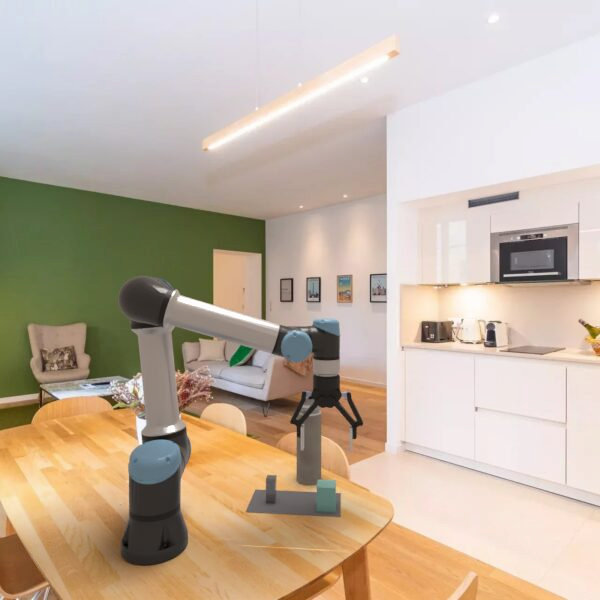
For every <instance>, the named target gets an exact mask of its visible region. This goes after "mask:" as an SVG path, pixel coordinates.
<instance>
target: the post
mask: <svg viewBox="0 0 600 600" xmlns="http://www.w3.org/2000/svg"><path fill="white" fill-rule="evenodd" d="M265 490H266V503H274V504H275V502H276V490H277V475H275V474H267V475H266V478H265Z"/></svg>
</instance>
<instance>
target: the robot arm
mask: <svg viewBox="0 0 600 600" xmlns="http://www.w3.org/2000/svg"><path fill="white" fill-rule="evenodd" d="M117 302H118V303H117V304H118V306H119V309H120V311H121V313H122V314H123V315H124V316H125V317H126V318H127V319H129V323H130V330H131V332H133V333H134V334H135V335H136V336H137V339H138V340H137V341H138V351H139V360H140V372H141V382H142V391H143V402H144V413H145V423H146V425H145V426H144V427H143V428H142V430H141V432H140V433H141V444H139V445H137V446H136V447H135V448H134V449H132V451H131V453H130V455H129V461H128V465H127V467H128V468H127V471H128V516H129V517H128V519H127V523H126V524H125V525H126V526H125V529H124V531H123V535H122V538H121V541H120V554H121V557H122V558H123V559H124V560H125V561H126V562H128V563H130V564H132V565H133V564H135V565H142V566H145V565H155V564H159V563H164V562H166V561H169V560H171V559H173V558H175V557H176V556H178V555H179V554H181V553H182V552H183V551H184V550H185V549H186V547H188V546H187V545H188V543H189V531H188V528H187V527H188V526H187V525H186V524H187V523H186V521H185V519H184V516H183V512H182V510H181V508H182V507H181V498H182V497H181V496H182V495H181V490H182V489H181V480H182V477H183V474H184V471H185V469H186V467H187V464H188V463H189V460H190V458H191V454H192V443H191V439H190V437H189V436H188V431H187V424H186V422H185V421H183V420H182V419H181V418H180V411H179V410H180V408H179V400H178V399H179V398H178V386H177V377H176V367H175V356H174V348H173V346H174V345H173V336H172V335H173V334H172V331H173V330H174V329H175V328H179V329H183V330H187V331H190V332H193V333H197V334H201V335H205V336H208V337H212V338H215V339H219V340H222V341H226V342H230V343H232V344H236V345H239V346H244V347H247V348H250V349H254V350H257V351H261V352H265V353H268V354H271V355H274V356H277V357H281V358H285V359H286V360H287V361H289V362H293V363H301V362H304V361H306V360H307V359H308V358H309V357H310V355H311V354H312V372H313V375H312V390H311V391H309V390H306V389H303V390H302V392H301V395H302V397H301V398H300V401H299V402H298V405H297V407H296V409H294V412H293V414H292V416H291V419H290V420H289V422H290V424H291V425H294V426H295V427H296V438H297V437H298V438H301V450H304V424H302V423H303V422H304V421H305V420H306V419H307V418H308V416H309V415H310V414H311V413H312V412H313V411H314V410H315V409H316V408H317V406H319V407H320V408H322V409H323V408H329V409H332V408H334V407H335V408H336V409H337V411H339V413H340V414H341V415H342V417H344V419H345V420H346V421H347V422H348V423H349V453H353V440H356V439H357V437H358V436H357V435H358V432H357V431H358V429H357V428H358V427H362V426H363V425H364V421H363V418H362V416H361V414H360V413H359V411H358V408H357V406H356V405H355V402H354V401H353V399H352V391H351V390H347V391H343V392H342V391H341V375H340V373H341V356H340V354H341V352H340V351H341V332H340V331H341V330H340V322H339V321H338V319H335V318H315V319H313V321H312V325H307V326H298V325H297V326H295V325H294V326H293V325H288V326H287V325H282V324H279V323H275V322H274V321H273V322H272V321H268V320H266V319H262V318H260V317H255V316H252V315H249V314H245V313H243V312H239V311H235V310H231V309H228V308H226V307H222V306H218V305H215V304H212V303H208V302H205V301H202V300H198V299H194V298H192V297H188V296H185V295H182V294H181V293H180V291H179V290H178V289H177V288H173V286H172V285H171V284H170V283H169V282H168V281H167V280H165V279H163V278H159V277H157V276H155V277H152V276H147V275H138V276H134V277H132V278H130V279H128V280H127V281H126V282H124V283H123V285H122V286H121V288H120V289H119V293H118V295H117ZM309 396H312V398H313V399H314V402H313V403H312V405H311V406H310V407H309V408H308V409H307V411H306V412H305V413H304V414H303V415H302V416H301V418H300V419H299V420H297V416H298V414H299V412H300V411H301V409H302V407H303V405H304V402H305V400H306V399H308V398H309ZM342 397H343V399H344V400H346V401H347V403H348V406H349V407H350V410H351V412H352V414H353V415H354V417H355V419H356V420H355V419H354V418H353V417H352V416H351V414H350V412H348V411H347V410H346V408H345V407H344V406H343V404H342V403H341V402H340V400H341V398H342Z"/></svg>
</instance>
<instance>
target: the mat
mask: <svg viewBox="0 0 600 600" xmlns="http://www.w3.org/2000/svg"><path fill="white" fill-rule="evenodd" d="M341 495H342V494H341V492H339V493H338V492H336V512H319V511H317V491H300V490H299V491H298V490H297V491H295V490H279V489H278V490H277V489H276V502H275V504H274V503H266V489H257V488H256V489H254V491H253V494H252V496H251V499H250V501H249V503H248V506H247V508H246V509H245V513H249V514H251V513H252V514H269V515H270V514H271V515H290V516H307V517H326V518H327V517H329V518H341V517H342V515H341V513H342V512H341V511H342V510H341V506H342V505H341V504H342V502H341V500H342V498H341Z"/></svg>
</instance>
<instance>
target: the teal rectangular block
mask: <svg viewBox="0 0 600 600" xmlns="http://www.w3.org/2000/svg"><path fill="white" fill-rule="evenodd" d="M336 486H337V481H336V480H335V479H321V480H319V479H318V481H317V485H316V492H317V511H319V512H336V493H337V490H336V489H337V487H336Z"/></svg>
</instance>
